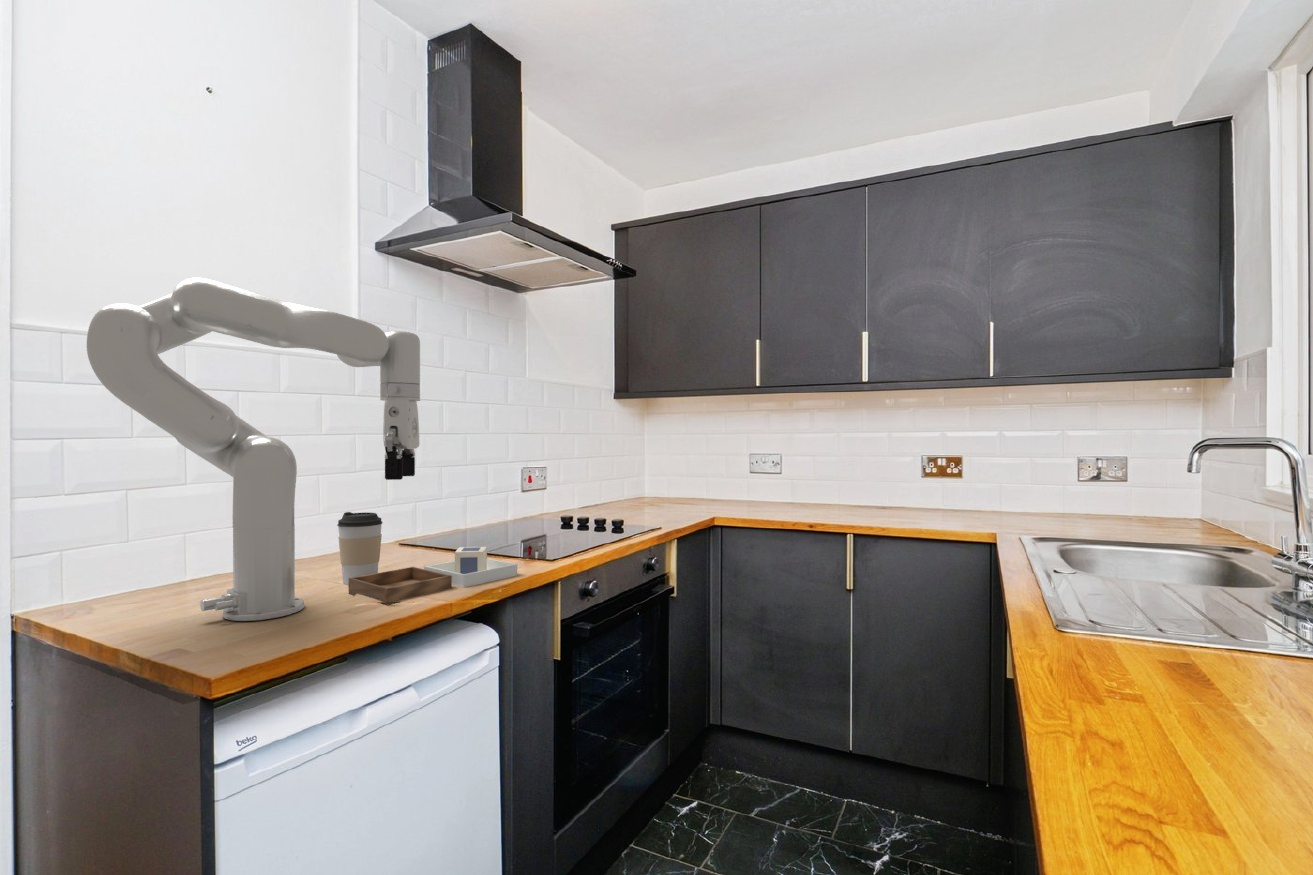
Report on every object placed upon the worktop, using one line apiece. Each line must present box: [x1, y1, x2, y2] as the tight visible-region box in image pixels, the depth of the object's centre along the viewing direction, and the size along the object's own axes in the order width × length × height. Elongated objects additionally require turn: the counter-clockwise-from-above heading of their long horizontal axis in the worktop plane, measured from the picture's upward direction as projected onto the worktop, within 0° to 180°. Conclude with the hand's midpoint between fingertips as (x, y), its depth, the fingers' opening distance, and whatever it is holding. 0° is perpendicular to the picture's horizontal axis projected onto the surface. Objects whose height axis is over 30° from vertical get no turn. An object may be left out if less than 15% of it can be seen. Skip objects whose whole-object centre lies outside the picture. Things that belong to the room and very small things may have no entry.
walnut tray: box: [348, 566, 453, 606], centre depth 131 cm, size 14×14×3 cm
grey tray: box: [423, 558, 518, 589], centre depth 143 cm, size 14×14×3 cm
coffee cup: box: [336, 511, 383, 586], centre depth 140 cm, size 9×9×15 cm
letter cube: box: [454, 546, 488, 574], centre depth 142 cm, size 6×6×6 cm
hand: (400, 477), depth 131 cm, fingers open, 9 cm apart
